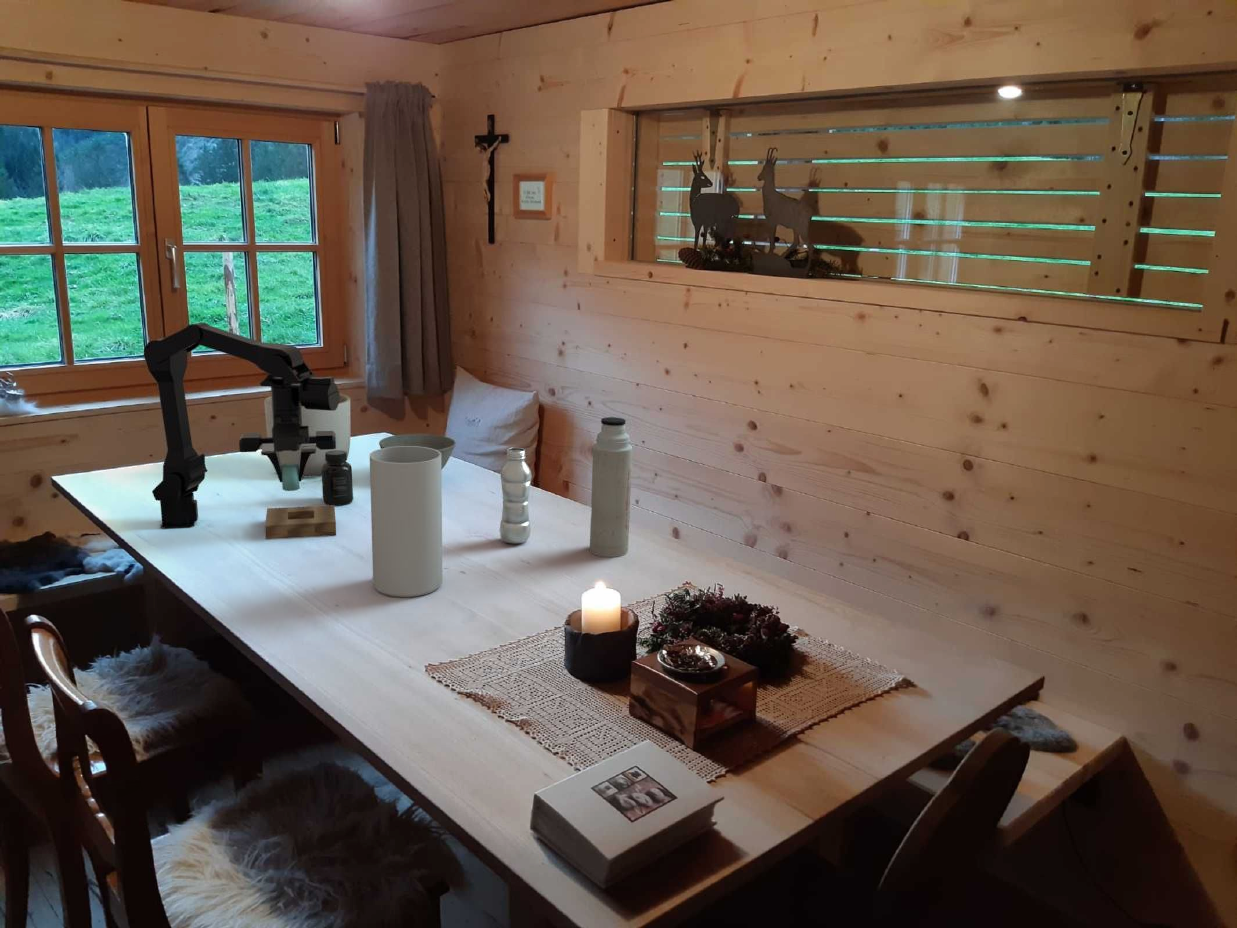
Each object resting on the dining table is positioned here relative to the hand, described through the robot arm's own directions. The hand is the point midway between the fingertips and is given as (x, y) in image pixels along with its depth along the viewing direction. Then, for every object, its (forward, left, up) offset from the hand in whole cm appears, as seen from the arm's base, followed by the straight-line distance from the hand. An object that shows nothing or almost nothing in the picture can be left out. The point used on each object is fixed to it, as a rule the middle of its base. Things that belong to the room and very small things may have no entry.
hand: (290, 481), depth 203 cm
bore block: (+2, +2, -11) cm, 11 cm away
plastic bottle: (+45, -15, -11) cm, 48 cm away
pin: (0, 0, -2) cm, 2 cm away
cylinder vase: (+21, -35, -11) cm, 42 cm away
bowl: (+30, +36, -11) cm, 48 cm away
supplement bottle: (+10, +20, -11) cm, 25 cm away
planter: (+4, +49, -11) cm, 51 cm away
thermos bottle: (+63, -24, -11) cm, 68 cm away
